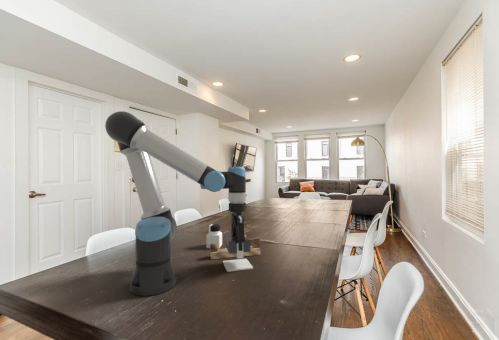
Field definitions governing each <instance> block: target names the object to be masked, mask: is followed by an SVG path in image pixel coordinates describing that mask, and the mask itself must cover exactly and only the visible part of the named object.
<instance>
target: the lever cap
mask: <svg viewBox="0 0 499 340" xmlns="http://www.w3.org/2000/svg"><path fill="white" fill-rule="evenodd" d="M244 236H245V242H243V252H250V246H251V239H250V238H249V237H248V236H247V235H246V234H245V233H244ZM240 240H241V239H240ZM236 242H237V236H232V235H230V236H225V248H226V249H227V250H228V252H229V254H230V253H237V243H236Z"/></svg>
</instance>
